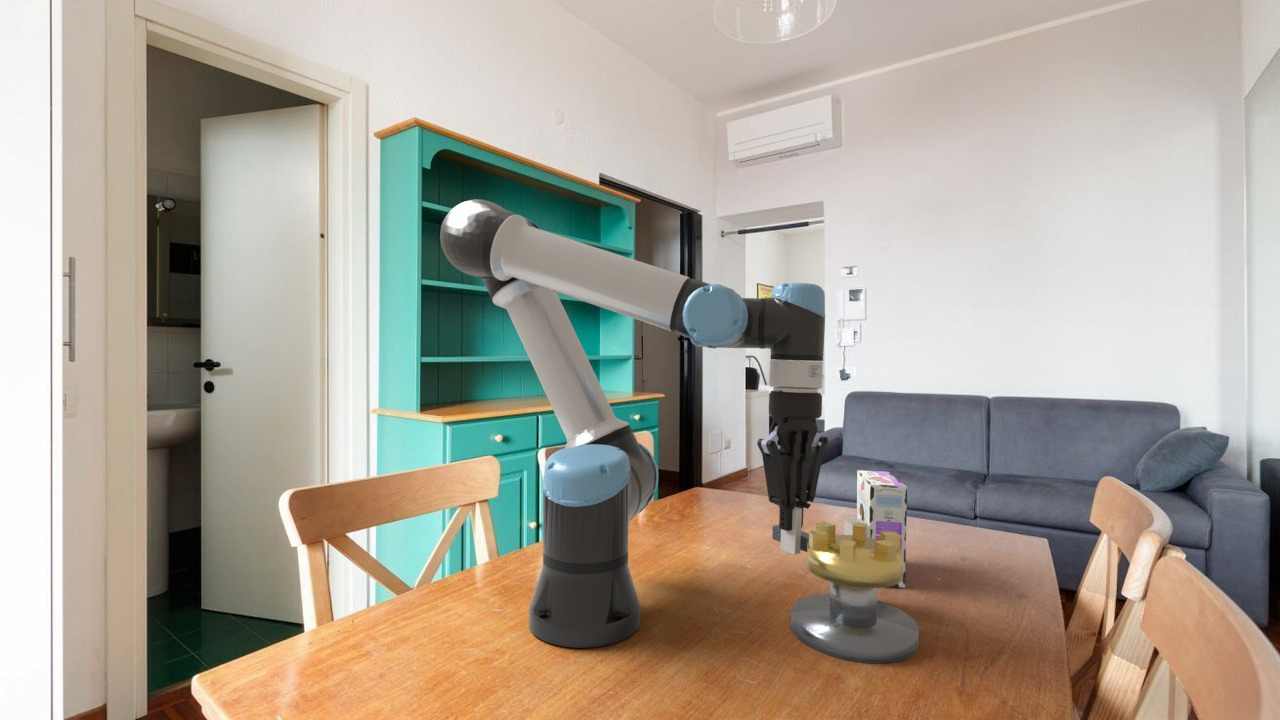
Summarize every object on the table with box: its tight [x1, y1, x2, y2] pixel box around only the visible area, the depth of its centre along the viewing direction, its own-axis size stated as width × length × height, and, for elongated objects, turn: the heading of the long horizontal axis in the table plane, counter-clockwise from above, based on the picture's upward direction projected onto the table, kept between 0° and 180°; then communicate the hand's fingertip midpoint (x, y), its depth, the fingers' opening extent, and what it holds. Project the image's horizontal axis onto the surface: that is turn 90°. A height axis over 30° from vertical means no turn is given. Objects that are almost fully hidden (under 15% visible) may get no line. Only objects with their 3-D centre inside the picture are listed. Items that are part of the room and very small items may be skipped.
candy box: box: [856, 470, 908, 589], centre depth 102 cm, size 14×6×16 cm, turn 168°
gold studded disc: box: [771, 521, 903, 589], centre depth 83 cm, size 20×12×5 cm, turn 31°
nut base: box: [790, 518, 920, 664], centre depth 81 cm, size 16×20×12 cm
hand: (790, 551), depth 87 cm, fingers closed
